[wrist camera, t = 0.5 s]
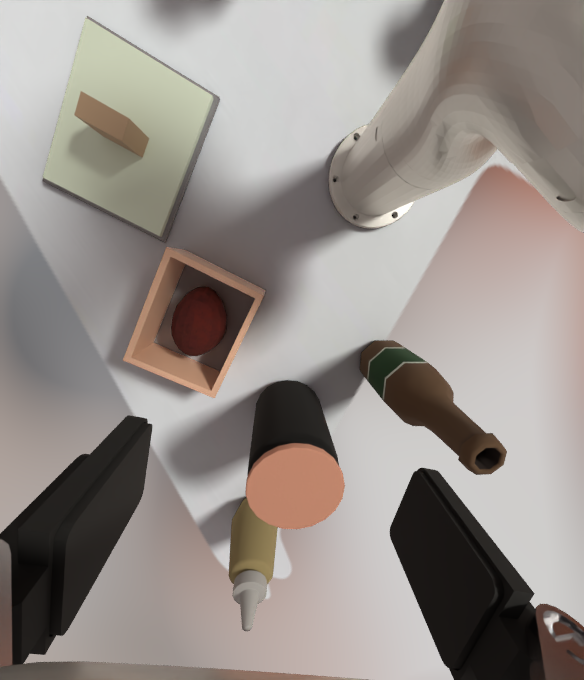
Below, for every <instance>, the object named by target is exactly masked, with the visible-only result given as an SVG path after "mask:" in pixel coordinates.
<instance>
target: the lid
mask: <svg viewBox="0 0 584 680" xmlns="http://www.w3.org/2000/svg"><path fill="white" fill-rule="evenodd" d="M212 102H213V96H212V95H211V94H209V93H208V92H206V91H205V90H203V89H201V88H200V87H198V86H196V85H195V84H193V83H192V82H190V81H188V80H187V79H185V78H183V77H182V76H180V75H179V74H177V73H175V72H174V71H172V70H170V69H169V68H167V67H166V66H164V65H162V64H161V63H159V62H157V61H156V60H154V59H152V58H151V57H149V56H148V55H146V54H144V53H143V52H141V51H139V50H138V49H136V48H135V47H133V46H131V45H130V44H128V43H126V42H125V41H123V40H122V39H120V38H118V37H117V36H115V35H113V34H112V33H110V32H109V31H107V30H105V29H104V28H102V27H100V26H99V25H97V24H96V23H94V22H92V21H91V20H89V19H87V18H85V22H84V25H83V29H82V33H81V37H80V40H79V44H78V48H77V51H76V55H75V59H74V63H73V66H72V70H71V74H70V77H69V81H68V85H67V89H66V92H65V96H64V100H63V103H62V107H61V111H60V115H59V118H58V122H57V126H56V129H55V133H54V137H53V141H52V144H51V148H50V152H49V155H48V159H47V163H46V167H45V170H44V174H43V178H45V179H47V180H49V181H51V182H53V183H55V184H57V185H59V186H61V187H63V188H65V189H67V190H69V191H70V192H72V193H74V194H76V195H78V196H80V197H82V198H84V199H86V200H88V201H90V202H92V203H94V204H96V205H98V206H100V207H102V208H104V209H106V210H108V211H110V212H112V213H114V214H116V215H118V216H120V217H122V218H124V219H126V220H128V221H130V222H132V223H134V224H136V225H138V226H140V227H142V228H144V229H146V230H148V231H150V232H152V233H154V234H156V235H158V236H160V237H162V235H163V232H164V229H165V227H166V224H167V221H168V219H169V216H170V213H171V211H172V208H173V205H174V203H175V200H176V197H177V195H178V192H179V190H180V187H181V184H182V182H183V179H184V176H185V174H186V171H187V168H188V166H189V163H190V160H191V158H192V155H193V152H194V150H195V147H196V145H197V142H198V139H199V137H200V134H201V131H202V129H203V126H204V123H205V121H206V118H207V115H208V113H209V110H210V107H211V105H212Z"/></svg>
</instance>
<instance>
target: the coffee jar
mask: <svg viewBox="0 0 584 680" xmlns="http://www.w3.org/2000/svg"><path fill="white" fill-rule="evenodd" d="M344 487H345V485H344V479H343V473H342V471H341V469H340V467H339V463H338V458H337V454H336V451H335V448H334V445H333V442H332V439H331V436H330V432H329V429H328V426H327V423H326V420H325V417H324V414H323V411H322V408H321V405H320V402H319V399H318V397H317V396H316V394H315V392H314V391H313V390H312V389H311V388H309V387H308V386H307V385H305V384H302V383H300V382H298V381H288V380H286V381H281V382H277V383H275V384H273V385H271V386H269V387H267V388H266V390H265V391H264V392H263V393H262V394H261V395H260V397H259V399H258V401H257V403H256V410H255V418H254V426H253V434H252V442H251V449H250V457H249V466H248V477H247V483H246V497H247V500H248V504H249V507H250V508H251V509H252V510H253V512H254V513H255V514H256V516H257V517H258V518H260V519H261V520H263V521H264V522H266V523H267V524H269V525H273V526H276V527H279V528H282V529H300V528H305V527H310V526H313V525H315V524H317V523H319V522H321V521H323V520H325V519H326V518H327V517H328V516H329V515H331V514H332V513H333V512H334V511H335V510H336V508H337V507H338V505H339V503H340V502H341V500H342V497H343V492H344Z"/></svg>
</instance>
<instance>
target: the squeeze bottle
mask: <svg viewBox="0 0 584 680" xmlns="http://www.w3.org/2000/svg"><path fill="white" fill-rule="evenodd" d="M276 537H277V527H276V526H273V525H269V524H267V523H266V522H264V521H263V520H261V519H260V518H258V517H257V516H256V514H255V513H254V512H253V510H252V509H251V508H250V507H249V504H248V500H247V498H245V499H244V500H243V501H242V503H241V505H240V506H239V508H238V510H237V512H236V513H235V515H234V517H233V519H232V526H231V544H230V562H229V578H230V580H231V582H232V583H233V584H234V588H233V598H234V600H235V601H236V602H237V603H239V604H240V607H241V617H242V618H241V619H242V629H243V630H244V631H250V630H251V628H252V625H253V620H254V616H255V612H256V607H257V604H259V603H260V602H262V601H263V600H264V598H265V597H266V592H267V584H268V583H269V581H270V580H271V579H272V576H273V569H274V558H275V548H276Z"/></svg>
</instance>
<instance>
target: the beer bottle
mask: <svg viewBox="0 0 584 680" xmlns="http://www.w3.org/2000/svg"><path fill="white" fill-rule="evenodd" d="M360 371H361V373H362V374H363V375H364V377H365V378H366V379H367V381H368V382H369V383H370V384H371V386H372V387H373V388H374V389H375V391H376V392H377V393H378V394H379V395H380V397H381V398H382V400H383V401H384V402H385V403H386V404H387V405H388V406H389V407H390V408H391V409H392V410H393V411H394V412H395V413H396V414H397V415H398V416H399V417H400V418H401V419H402V420H403V421H404V422H405V423H408V424H410V425H412V426H425V427H426V428H428V429H429V430H431V431H432V432H433V433H434V434H436V435H437V436H438V437H439V438H440V439H441V440H442V441H443V442H444V443H445V444H446V445H447V446H449V447H450V448H451V449H452V450H453V451H454V452H455V453H456V454H457V455H458V456H459V459H458V460H459V461H460V462H461V463H462V464H463V465H464V466H465V467H466V468H467V469H468V470H469V471H471V472H473V473H474V474H476V475H480V474H492V473H493V472H494V471H496V470H497V469H498V468H500V467H501V466H502V465H503V464H504V461H505V457H506V453H507V451H506V449H505V448H504V447H503V445H502V444H501V443H500V441H499V440H498V439H497V438H496V437H495V436H494V435H493V434H492V433H485V432H484V431H483V430H482V429H481V428H480V427H479V426H478V425H477V424H476V423H474V422H473V421H472V420H471V419H470V418H469V417H468V416H467V415H466V414H465V413H464V412H462V411H461V410H460V409H459V408H458V407H457V406H456V405H455V404H454V403H453V391H452V389H451V387H450V385H449V384H448V383H447V381H445V379H444V378H443V377H442V376H441V375H440V374H439V372H438V371H437V370H436V369H435V368H434V367H432V366H431V365H430V364H429V363H428V362H426V361H425V360H423V359H422V358H420V357H418V356H417V355H415V354H414V353H412V352H411V351H409V350H408V349H406V348H405V347H403V346H402V345H400V344H399V343H397V342H395V341H374V342H373V343H372V344H371V345H369V346H368V347H367V348H366V349H365V350H364V351H363V352H362V353H361V361H360Z"/></svg>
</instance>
